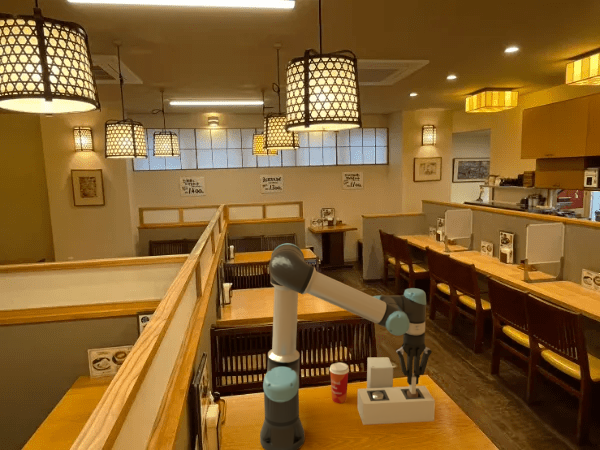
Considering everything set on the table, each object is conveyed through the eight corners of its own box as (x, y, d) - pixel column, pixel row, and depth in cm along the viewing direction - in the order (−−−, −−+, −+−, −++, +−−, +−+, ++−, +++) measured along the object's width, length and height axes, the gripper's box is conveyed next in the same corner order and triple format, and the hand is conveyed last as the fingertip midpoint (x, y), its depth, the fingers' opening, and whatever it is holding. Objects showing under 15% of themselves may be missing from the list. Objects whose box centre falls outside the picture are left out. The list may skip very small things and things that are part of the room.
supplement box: (393, 403, 160) (393, 367, 158) (369, 403, 160) (370, 367, 158) (388, 391, 169) (389, 356, 167) (366, 391, 169) (367, 356, 167)
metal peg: (373, 417, 151) (373, 397, 150) (371, 410, 155) (371, 391, 154) (384, 416, 151) (384, 397, 150) (381, 410, 155) (381, 391, 154)
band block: (363, 424, 148) (363, 404, 146) (357, 408, 158) (357, 388, 156) (434, 421, 149) (434, 400, 148) (424, 405, 159) (424, 385, 158)
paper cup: (326, 397, 166) (325, 364, 163) (342, 392, 169) (342, 360, 167) (335, 407, 158) (335, 373, 156) (352, 402, 162) (353, 368, 160)
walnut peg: (408, 415, 152) (408, 396, 150) (405, 409, 155) (405, 390, 154) (419, 414, 152) (419, 395, 151) (415, 408, 156) (416, 389, 155)
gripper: (399, 336, 145) (398, 398, 148) (435, 335, 146) (433, 396, 149) (393, 328, 152) (392, 387, 156) (428, 326, 153) (426, 385, 156)
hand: (412, 391), depth 152 cm, fingers closed
